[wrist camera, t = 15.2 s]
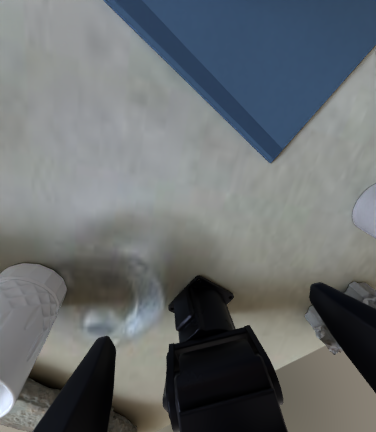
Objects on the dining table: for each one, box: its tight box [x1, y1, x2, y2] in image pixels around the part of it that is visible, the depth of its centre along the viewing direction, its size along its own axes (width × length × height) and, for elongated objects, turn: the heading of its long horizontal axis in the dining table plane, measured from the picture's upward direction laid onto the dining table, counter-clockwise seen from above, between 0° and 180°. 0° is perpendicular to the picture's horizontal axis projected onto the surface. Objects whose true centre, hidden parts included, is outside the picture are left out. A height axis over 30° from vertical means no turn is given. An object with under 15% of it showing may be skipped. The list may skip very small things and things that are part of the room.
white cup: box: [0, 263, 67, 418], centre depth 17 cm, size 8×8×10 cm
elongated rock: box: [0, 378, 137, 432], centre depth 30 cm, size 35×5×10 cm
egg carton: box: [305, 281, 376, 355], centre depth 29 cm, size 11×8×4 cm
